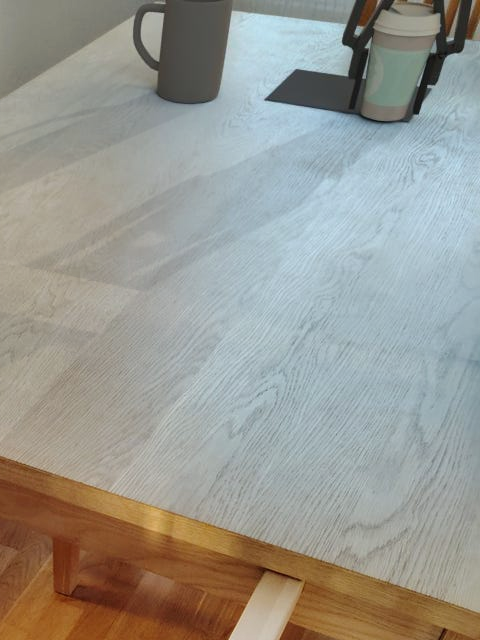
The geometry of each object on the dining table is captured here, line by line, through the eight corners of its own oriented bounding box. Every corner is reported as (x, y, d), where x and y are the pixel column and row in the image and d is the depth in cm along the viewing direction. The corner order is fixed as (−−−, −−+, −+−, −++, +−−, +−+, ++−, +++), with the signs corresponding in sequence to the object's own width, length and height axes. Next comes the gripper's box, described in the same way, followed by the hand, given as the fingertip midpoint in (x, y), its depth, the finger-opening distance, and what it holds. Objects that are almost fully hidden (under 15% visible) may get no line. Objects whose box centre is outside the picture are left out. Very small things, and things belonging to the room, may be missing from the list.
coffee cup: (357, 100, 126) (383, -3, 117) (420, 109, 123) (452, 4, 114) (342, 119, 121) (369, 13, 112) (408, 128, 118) (440, 21, 109)
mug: (227, 87, 131) (242, -12, 122) (208, 107, 126) (223, 5, 117) (139, 76, 135) (147, -21, 126) (117, 95, 130) (125, -5, 121)
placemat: (431, 89, 129) (432, 88, 129) (408, 122, 121) (408, 121, 121) (295, 69, 136) (296, 68, 136) (264, 99, 127) (264, 98, 127)
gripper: (534, -111, 105) (462, 105, 122) (353, -117, 109) (308, 93, 126) (540, -99, 100) (464, 125, 117) (351, -106, 104) (304, 111, 121)
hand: (383, 108), depth 121 cm, fingers closed on coffee cup, 8 cm apart
